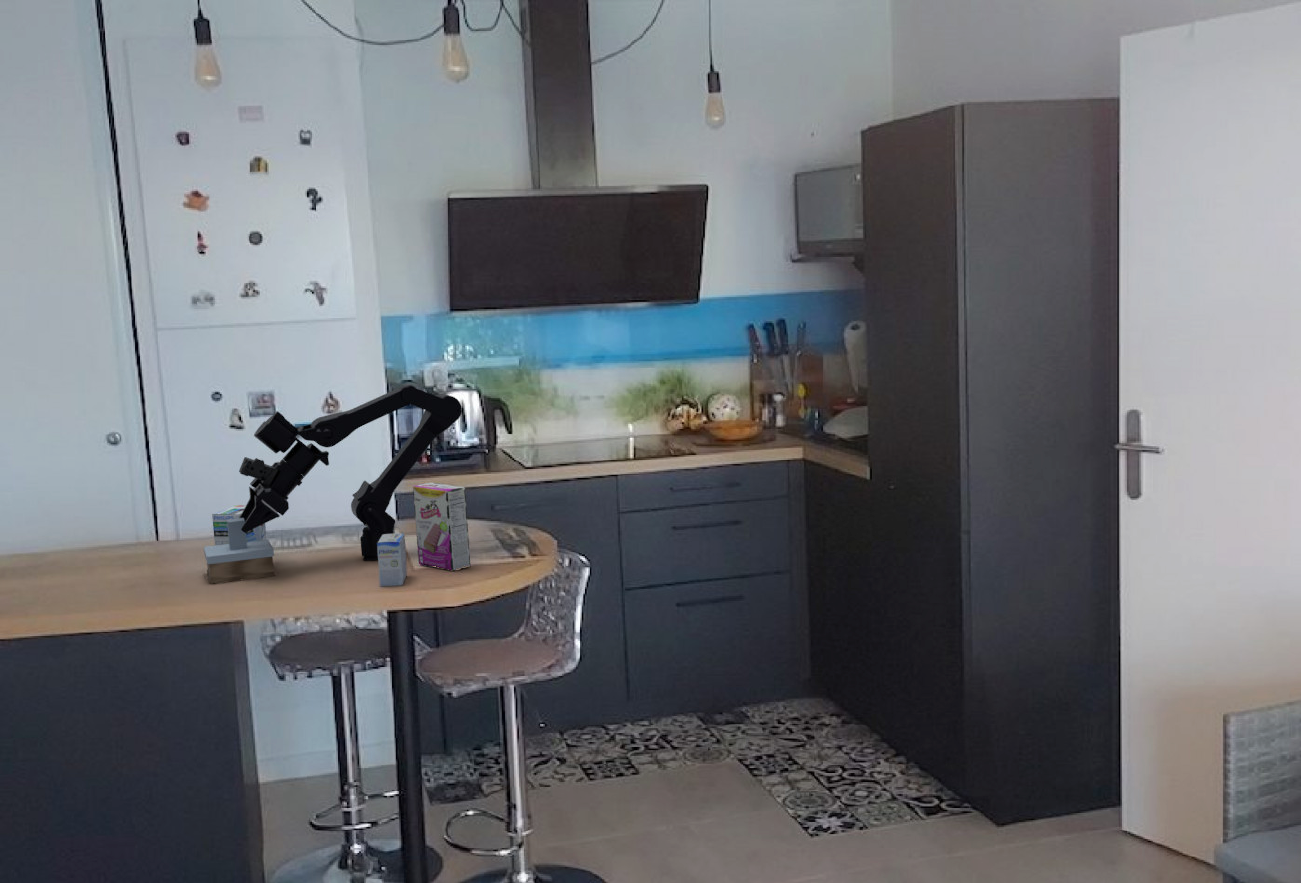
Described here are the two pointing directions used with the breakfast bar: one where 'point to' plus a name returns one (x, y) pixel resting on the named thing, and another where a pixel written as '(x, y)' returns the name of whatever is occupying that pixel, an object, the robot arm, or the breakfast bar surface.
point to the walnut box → (240, 570)
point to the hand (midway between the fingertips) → (240, 527)
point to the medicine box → (392, 559)
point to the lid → (238, 546)
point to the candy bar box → (441, 525)
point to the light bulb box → (222, 528)
